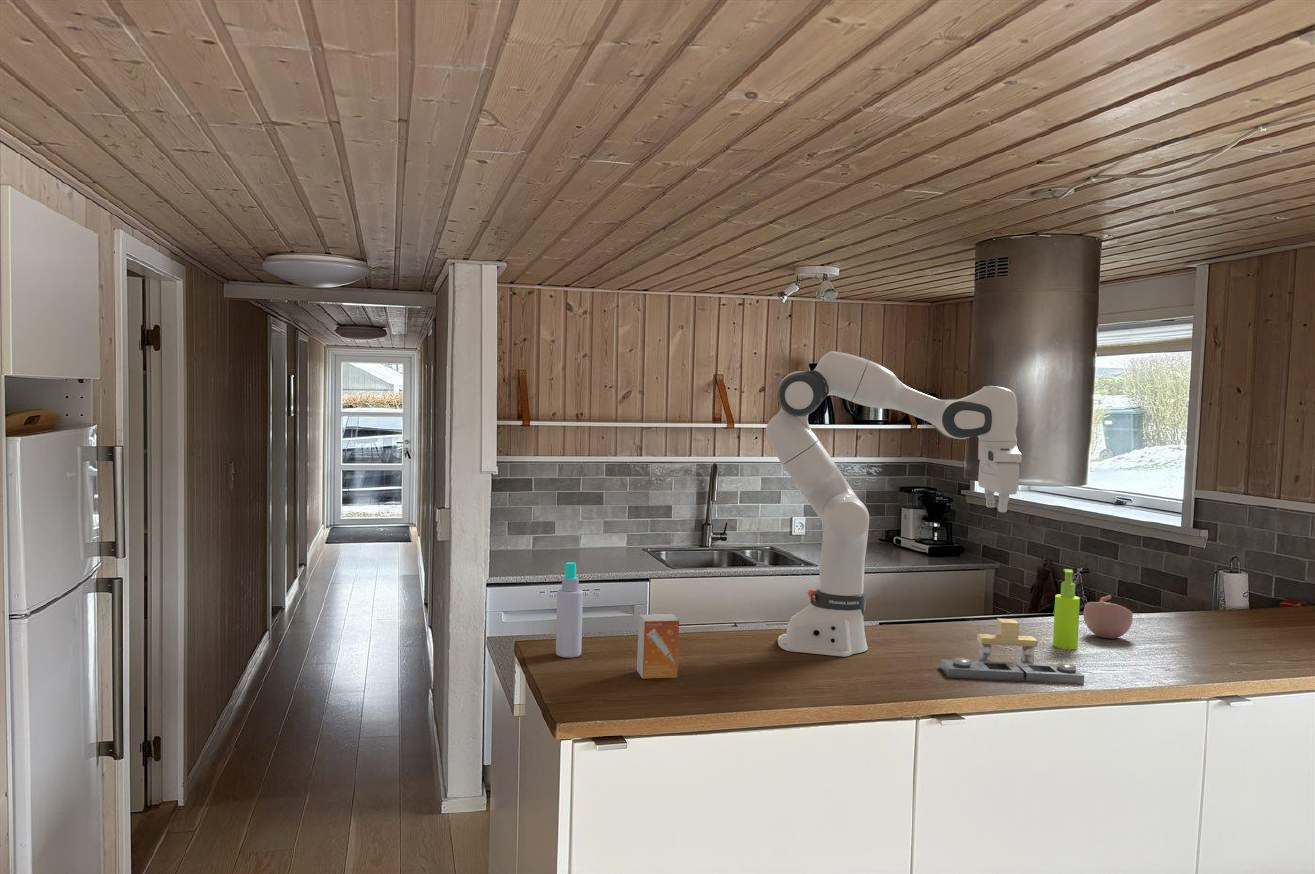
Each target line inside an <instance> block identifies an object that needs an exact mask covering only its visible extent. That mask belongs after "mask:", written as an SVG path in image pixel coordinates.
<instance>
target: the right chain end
mask: <svg viewBox="0 0 1315 874" xmlns="http://www.w3.org/2000/svg"><path fill="white" fill-rule="evenodd" d="M1014 664H1015V665H1016V666H1017V667H1018V668H1019V669H1020V670H1022V671H1023V672H1024V680H1023V681H1025V682H1030V683H1048V684H1049V683H1051V684H1069V685H1070V684H1072V685H1085V675H1084V674H1083V673H1081V672H1080V671H1079V670H1078V669H1077V665H1075V664H1072V663H1067V662H1059V663H1056V664H1048V663H1034V664H1032V663H1021V662H1015V663H1014Z"/></svg>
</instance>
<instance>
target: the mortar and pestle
mask: <svg viewBox="0 0 1315 874" xmlns="http://www.w3.org/2000/svg"><path fill="white" fill-rule="evenodd" d="M1111 599H1112V595H1106V596H1102V597H1100V598H1099V601H1088V602H1087V603H1085V605H1084V608H1083V621H1084V623H1085V625H1086V627H1087V628H1088V629H1089V631H1090V632H1091V633H1092V634H1093V635H1095V636H1098V637H1100V638H1103V639H1111V640H1112V639H1118V638H1120V637H1122V636H1124V635H1125V634H1127V632H1128V631H1129V630H1130V629H1131V626H1132V624H1133V617H1134V615H1133V612H1132V611H1131V610H1130V609H1129V608H1127V607H1125V606H1122V605H1120V604H1117V603H1112V602H1106V601H1109V600H1111Z"/></svg>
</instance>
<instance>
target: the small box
mask: <svg viewBox="0 0 1315 874" xmlns="http://www.w3.org/2000/svg"><path fill="white" fill-rule="evenodd" d="M637 629H638V630H637V633H638V634H637V654H636V659H637V661H636V671H637V673H638V674H639V675H640V677H641V679H643V680H645V679H677V678H678V667H679V666H678V665H679V641H680V636H679V635H680V619H678V617H676V615H674V613H668V614H667V613H665V614H664V613H652V614H638V628H637Z"/></svg>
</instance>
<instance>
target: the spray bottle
mask: <svg viewBox="0 0 1315 874" xmlns="http://www.w3.org/2000/svg"><path fill="white" fill-rule="evenodd" d="M561 581H562V582H561V588H559V589H558V590H557V593H556V595H557V597H556V625H555V626H556V632H555V636H556V639H555V654H556V656H558V657H561V658H565V659H573V658H577V657H580V656H581V655H582V640H583V639H582V637H583V602H584V601H583V599H584V597H583V596H584V595H583V594H584V591H583V589H581V588H580V582H579V581H580V580H579V577H578V576H577V563H576V562H575V561H568V562H565V571H564V576H563V577H562V580H561Z"/></svg>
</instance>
